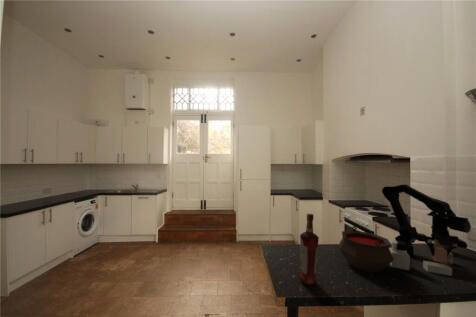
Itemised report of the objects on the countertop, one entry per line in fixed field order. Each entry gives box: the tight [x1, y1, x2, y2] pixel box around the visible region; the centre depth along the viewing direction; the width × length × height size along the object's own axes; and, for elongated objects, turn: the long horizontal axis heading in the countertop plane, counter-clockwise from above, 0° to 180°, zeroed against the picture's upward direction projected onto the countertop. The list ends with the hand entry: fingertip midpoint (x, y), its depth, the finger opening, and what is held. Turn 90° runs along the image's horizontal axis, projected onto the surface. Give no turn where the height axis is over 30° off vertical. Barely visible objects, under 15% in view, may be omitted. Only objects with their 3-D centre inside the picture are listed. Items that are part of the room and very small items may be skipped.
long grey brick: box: [422, 260, 453, 277], centre depth 100 cm, size 9×4×4 cm, turn 69°
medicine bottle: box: [389, 239, 411, 271], centre depth 104 cm, size 7×7×12 cm
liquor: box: [298, 213, 320, 286], centre depth 87 cm, size 7×7×28 cm
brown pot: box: [339, 225, 394, 273], centre depth 103 cm, size 24×24×16 cm
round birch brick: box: [441, 252, 454, 266], centre depth 110 cm, size 5×5×5 cm
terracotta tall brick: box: [430, 245, 447, 264], centre depth 106 cm, size 4×4×6 cm
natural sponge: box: [433, 239, 454, 252], centre depth 125 cm, size 9×9×10 cm
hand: (438, 257), depth 106 cm, fingers closed on terracotta tall brick, 4 cm apart
